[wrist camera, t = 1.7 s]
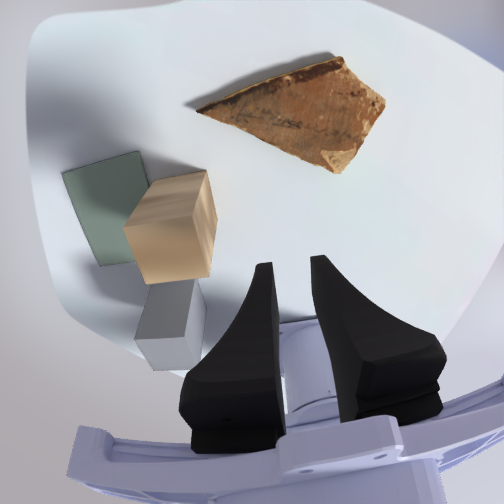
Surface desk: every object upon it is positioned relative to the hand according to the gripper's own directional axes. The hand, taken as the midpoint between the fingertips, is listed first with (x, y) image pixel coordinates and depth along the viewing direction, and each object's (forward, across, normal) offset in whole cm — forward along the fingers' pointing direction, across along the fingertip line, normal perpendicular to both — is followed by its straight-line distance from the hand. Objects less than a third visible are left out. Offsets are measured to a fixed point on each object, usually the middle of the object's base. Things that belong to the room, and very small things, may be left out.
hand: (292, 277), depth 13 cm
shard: (+11, -2, -4) cm, 12 cm away
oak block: (+10, +6, 0) cm, 12 cm away
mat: (+10, +12, 0) cm, 16 cm away
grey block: (+10, +10, +9) cm, 17 cm away
